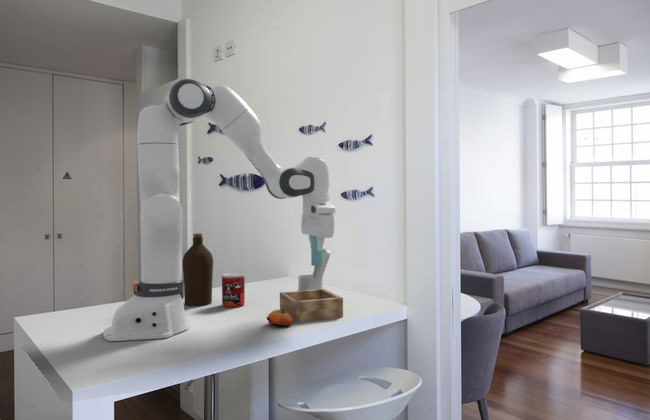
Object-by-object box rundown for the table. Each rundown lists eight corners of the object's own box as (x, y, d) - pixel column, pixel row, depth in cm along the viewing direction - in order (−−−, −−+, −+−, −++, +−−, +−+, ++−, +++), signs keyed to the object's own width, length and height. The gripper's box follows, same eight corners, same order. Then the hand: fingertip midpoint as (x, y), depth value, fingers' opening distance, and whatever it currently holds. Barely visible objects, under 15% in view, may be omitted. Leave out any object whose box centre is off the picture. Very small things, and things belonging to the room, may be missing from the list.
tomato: (286, 325, 133) (273, 304, 136) (269, 339, 135) (257, 318, 138) (300, 323, 140) (288, 303, 143) (284, 336, 142) (273, 316, 145)
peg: (313, 266, 151) (313, 229, 151) (309, 264, 154) (309, 228, 154) (324, 265, 152) (323, 228, 152) (319, 263, 156) (319, 228, 155)
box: (295, 321, 143) (295, 302, 142) (279, 310, 157) (279, 292, 157) (343, 316, 149) (343, 297, 149) (323, 305, 163) (323, 288, 163)
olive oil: (219, 301, 170) (219, 233, 169) (200, 308, 160) (200, 235, 160) (196, 299, 174) (195, 232, 174) (176, 305, 165) (175, 234, 164)
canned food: (218, 307, 161) (218, 275, 161) (228, 302, 169) (228, 272, 169) (238, 308, 159) (238, 276, 159) (248, 303, 167) (247, 272, 167)
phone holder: (297, 290, 190) (297, 246, 190) (321, 289, 193) (321, 245, 192) (305, 299, 174) (305, 251, 173) (331, 298, 176) (331, 250, 175)
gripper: (296, 207, 161) (296, 246, 162) (318, 208, 142) (319, 253, 143) (313, 206, 164) (313, 246, 164) (337, 208, 145) (337, 252, 145)
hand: (316, 249), depth 153 cm, fingers closed on peg, 4 cm apart
